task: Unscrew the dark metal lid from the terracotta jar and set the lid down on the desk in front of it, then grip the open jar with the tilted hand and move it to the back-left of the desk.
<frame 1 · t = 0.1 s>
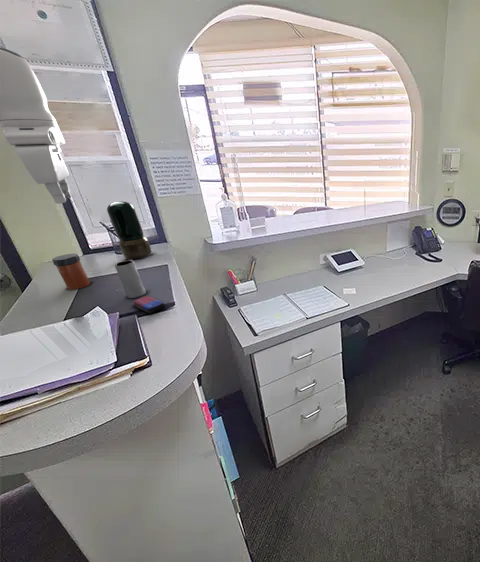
hand: (64, 200, 73), 29 cm above the table, tool pointing down, fingers open, 8 cm apart
eraser: (150, 308, 85), on the table
jar: (79, 285, 101), on the table
jar lid: (65, 258, 96), point 10 cm above the table, screwed on, not yet turned
lamp: (139, 256, 126), on the table
planter: (137, 295, 92), on the table
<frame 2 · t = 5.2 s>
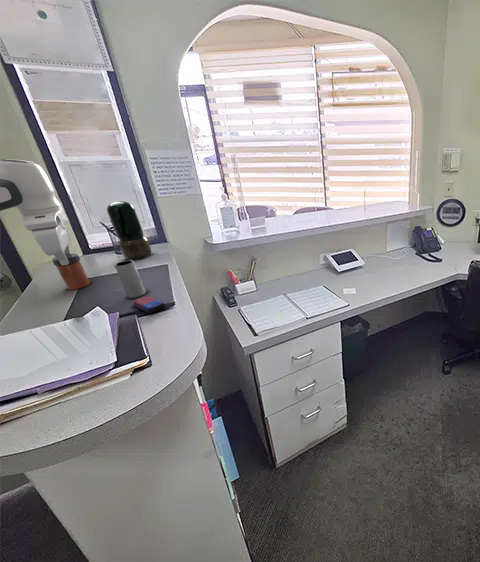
hand: (67, 261, 97), 9 cm above the table, tool pointing down, fingers closed on jar lid, 6 cm apart
jar lid: (65, 258, 96), point 10 cm above the table, screwed on, not yet turned, touching gripper
everything else where it was.
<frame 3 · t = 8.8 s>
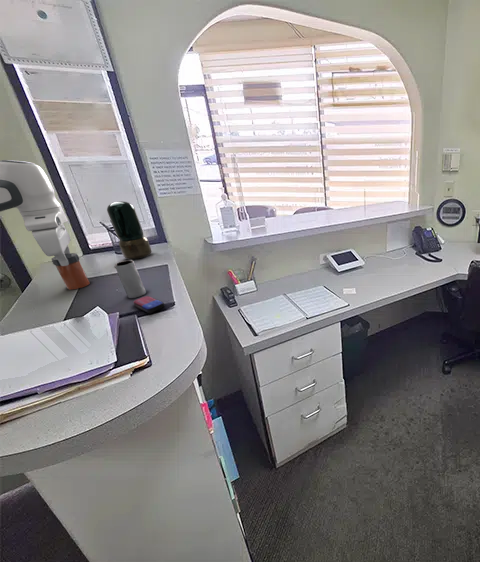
hand: (67, 262, 97), 8 cm above the table, tool pointing down, fingers closed on jar lid, 6 cm apart
jar lid: (64, 257, 96), point 10 cm above the table, turned 89° so far, risen 0.1 cm, still on its thread, touching gripper
everything else where it was.
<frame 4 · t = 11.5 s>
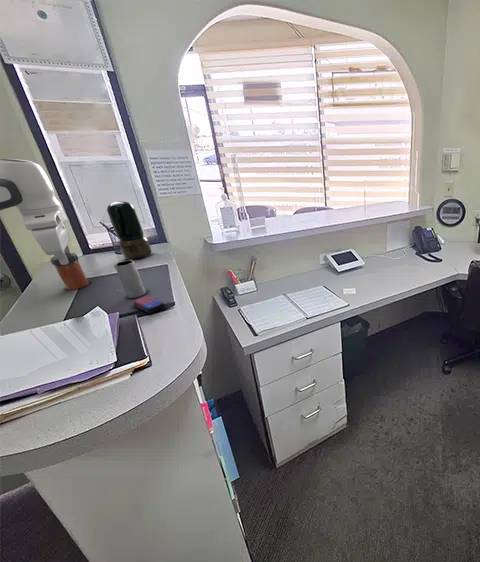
hand: (67, 261, 97), 9 cm above the table, tool pointing down, fingers closed on jar lid, 6 cm apart
jar lid: (63, 257, 96), point 10 cm above the table, turned 166° so far, risen 0.2 cm, still on its thread, touching gripper
everything else where it was.
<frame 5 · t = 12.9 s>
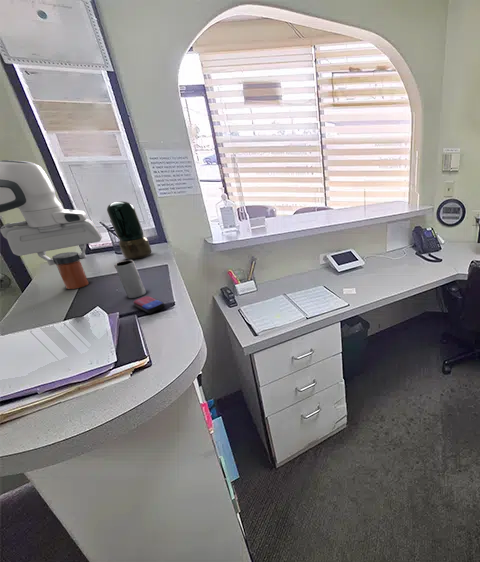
hand: (69, 261, 97), 8 cm above the table, tool pointing down, fingers closed on jar lid, 6 cm apart
jar: (77, 285, 101), on the table, touching gripper
jar lid: (65, 256, 96), point 10 cm above the table, turned 255° so far, risen 0.3 cm, still on its thread, touching gripper
everything else where it was.
when the fingers open (7 cm above the table, at t = 14.2 s): jar lid stays where it is, point 10 cm above the table.
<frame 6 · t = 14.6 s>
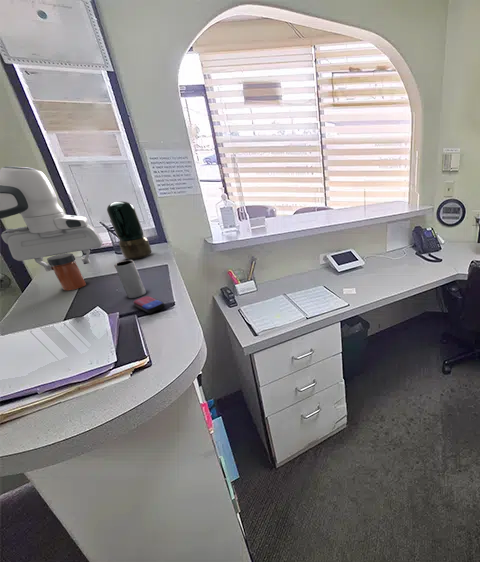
hand: (69, 266, 98), 7 cm above the table, tool pointing down, fingers open, 7 cm apart
jar lid: (60, 257, 96), point 10 cm above the table, turned 255° so far, risen 0.3 cm, still on its thread, touching gripper
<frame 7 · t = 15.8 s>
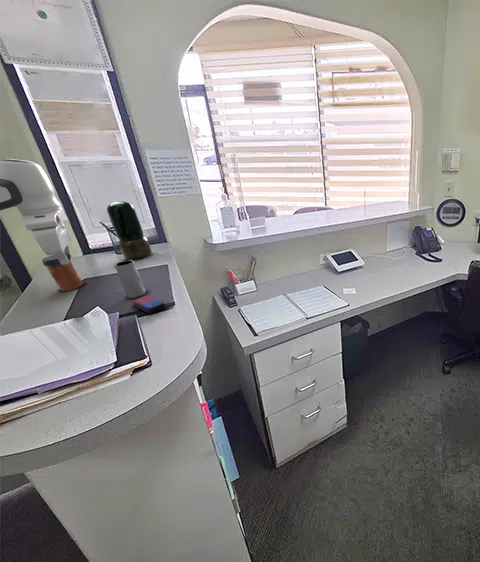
hand: (67, 261, 97), 9 cm above the table, tool pointing down, fingers closed on jar lid, 5 cm apart
jar: (72, 286, 100), on the table
jar lid: (55, 258, 95), point 10 cm above the table, turned 254° so far, risen 0.4 cm, still on its thread, touching gripper
everything else where it was.
when the fingers open (5 cm above the table, at t = 41.5 s): jar lid stays where it is, point 1 cm above the table.
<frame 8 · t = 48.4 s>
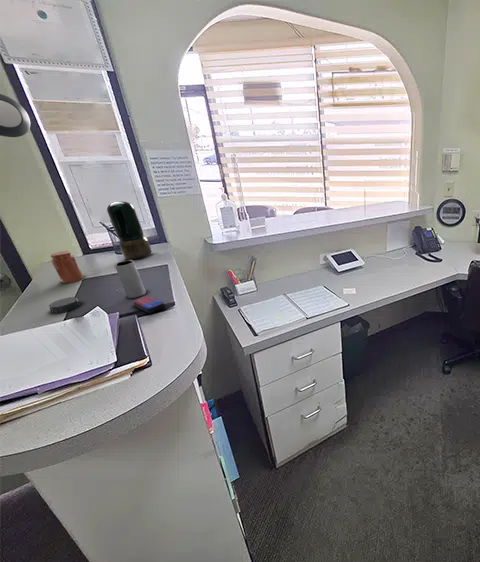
jar: (73, 279, 106), on the table
jar lid: (64, 303, 86), point 1 cm above the table, off its thread
everything else where it was.
at the end: jar lid point 1.5 cm above the table; the gripper is holding nothing; jar inside the target area (1.3 cm from its centre), on the table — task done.
